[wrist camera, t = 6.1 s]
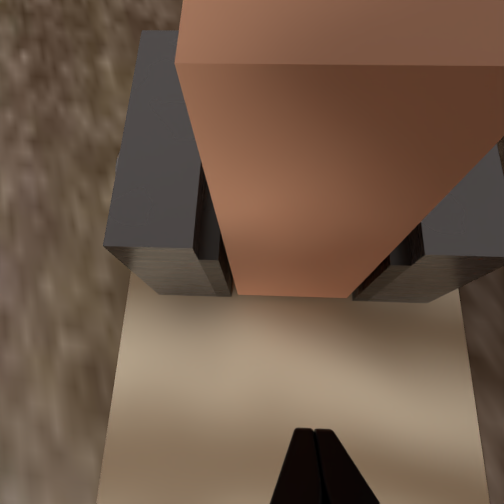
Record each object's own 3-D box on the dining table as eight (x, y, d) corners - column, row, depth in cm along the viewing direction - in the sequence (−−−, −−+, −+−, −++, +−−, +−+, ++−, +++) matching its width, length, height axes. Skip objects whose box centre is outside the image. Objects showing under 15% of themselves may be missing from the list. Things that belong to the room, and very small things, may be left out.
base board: (491, 578, 13) (502, 587, 12) (94, 555, 14) (87, 562, 13) (427, 123, 19) (433, 115, 19) (158, 119, 20) (155, 112, 19)
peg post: (346, 298, 16) (571, 67, 4) (238, 294, 16) (174, 63, 4) (340, 171, 18) (483, -217, 6) (244, 169, 18) (212, -212, 6)
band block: (451, 304, 16) (559, 258, 10) (135, 294, 16) (67, 244, 10) (429, 141, 18) (503, 32, 13) (158, 136, 19) (113, 30, 13)
